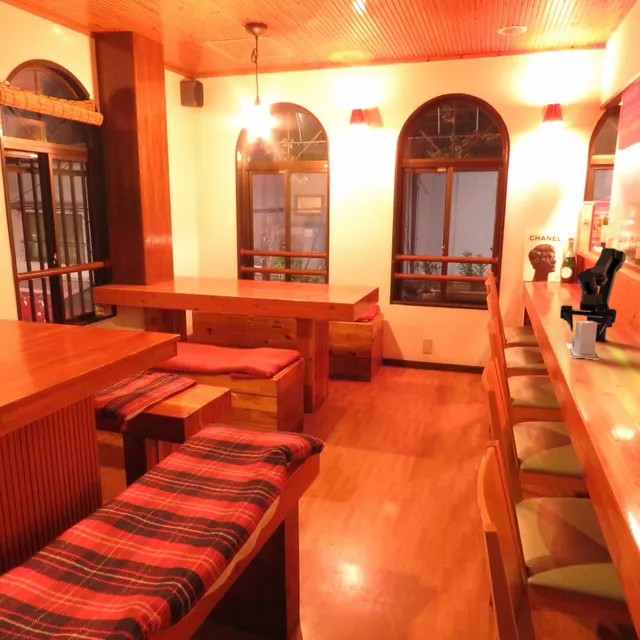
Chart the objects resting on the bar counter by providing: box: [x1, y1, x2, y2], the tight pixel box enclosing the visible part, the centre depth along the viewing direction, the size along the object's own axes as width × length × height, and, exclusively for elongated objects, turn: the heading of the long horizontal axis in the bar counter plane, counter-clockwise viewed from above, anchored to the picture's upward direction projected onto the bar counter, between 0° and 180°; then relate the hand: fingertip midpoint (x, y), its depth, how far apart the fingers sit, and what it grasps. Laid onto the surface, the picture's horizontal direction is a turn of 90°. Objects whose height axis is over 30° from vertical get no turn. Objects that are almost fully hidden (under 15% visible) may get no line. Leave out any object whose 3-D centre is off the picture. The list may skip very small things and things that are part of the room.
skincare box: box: [574, 320, 597, 354], centre depth 202 cm, size 6×4×12 cm
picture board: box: [565, 337, 600, 361], centre depth 207 cm, size 20×9×3 cm, turn 162°
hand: (585, 332), depth 200 cm, fingers open, 9 cm apart
